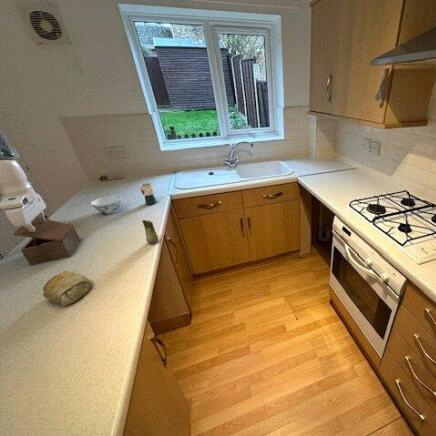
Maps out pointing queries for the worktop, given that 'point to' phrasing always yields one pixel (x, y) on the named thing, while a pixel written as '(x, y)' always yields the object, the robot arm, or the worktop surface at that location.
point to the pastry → (66, 288)
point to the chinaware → (107, 204)
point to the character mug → (148, 193)
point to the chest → (50, 248)
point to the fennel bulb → (150, 232)
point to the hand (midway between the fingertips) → (38, 226)
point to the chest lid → (46, 230)
